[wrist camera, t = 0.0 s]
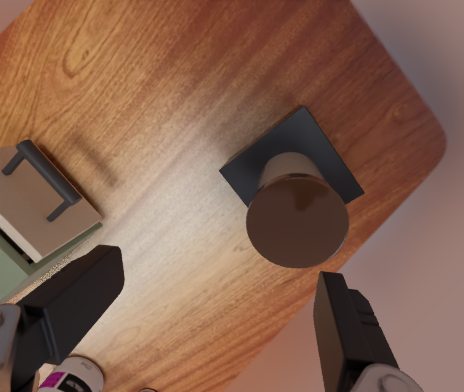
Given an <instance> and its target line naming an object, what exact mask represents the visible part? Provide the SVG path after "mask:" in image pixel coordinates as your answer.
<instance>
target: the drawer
mask: <svg viewBox="0 0 464 392" xmlns="http://www.w3.org/2000/svg"><path fill="white" fill-rule="evenodd" d="M102 219H103V218H102V217H101V216H100V215H99V214H98V213H97V211H96V210H95V209H94V208H93V207H92V206H91V205H90V204H89V203H88V202H87V201H86V199H85V198H84V197H83V196H82V195H81V194H80V193H79V192H78V191H77V190H76V188H75V187H74V186H73V185H72V184H71V183H70V182H69V181H68V180H67V179H66V177H65V176H64V175H63V174H62V173H61V172H60V171H59V170H58V169H57V168H56V166H55V165H54V164H53V163H52V162H51V161H50V160H49V159H48V158H47V157H46V156H45V154H44V153H43V152H42V151H41V150H40V149H39V148H38V147H37V146H36V145H35V143H33V142H32V141H31V140H24V141H22V142H20V143H19V144H17V145H15V146H9V147H2V148H0V235H1V236H2V237H3V238H4V239H5V240H6V241H7V242H8V243H9V244H10V245H11V246H12V247H13V248H14V249H15V250H16V251H17V252H18V253H19V254H20V255H21V256H22V257H23V258H24V259H25V260H26V261H27V262H28V263H29V264H31V263H33V262H35V263H37V262H39V261H40V260H42V259H43V258H45V257H47V256H48V255H50V254H51V253H53V252H54V251H56V250H57V249H59V248H60V247H62V246H63V245H65V244H66V243H68V242H69V241H71V240H72V239H74V238H75V237H77V236H78V235H80V234H82V233H83V232H85V231H86V230H88V229H89V228H91V227H92V226H94V225H95V224H97V223H98V222H99V221H100V220H102Z"/></svg>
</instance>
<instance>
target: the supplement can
mask: <svg viewBox="0 0 464 392" xmlns="http://www.w3.org/2000/svg"><path fill="white" fill-rule="evenodd" d="M103 386H104V383H103V375H102V373H101V371H100V369H99V368H98V367H97V366H96V365H95V364H94V363H93V362H91V361H90V360H88V359H85V358H83V357H71V358H66V359H65V360H64V361H63V362H62V364H61V365H60V366H58V365H57V367H56V368H55V369H54V370H53V371H52V372H51V374H50V375H49V376H48V377H47V378H46V380H45V381H44V382H43V383H42V384H41V385H40V387H39V388H38V392H101V390H102V388H103Z"/></svg>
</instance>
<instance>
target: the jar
mask: <svg viewBox="0 0 464 392" xmlns="http://www.w3.org/2000/svg"><path fill="white" fill-rule="evenodd" d="M246 228H247V233H248V236H249V239H250V241H251V243H252V245H253V246H254V247H255V249H256V250H257V251H258V252H259V253H260V254H261V255H262V256H263V257H264V258H266V259H267V260H269V261H270V262H272V263H274V264H277V265H280V266H283V267H287V268H308V267H312V266H316V265H318V264H321V263H323V262H325V261H326V260H328V259H330V258H331V257H332V256H333V255H335V254H336V253H337V251H338V250H339V249H340V248H341V246H342V245H343V243H344V241H345V239H346V237H347V234H348V229H349V215H348V211H347V208H346V206H345V203H344V202H343V200H342V198H341V197H340V195H339V194H338V193H337V191H336V190H335V189H334V188H333V187H332V186H331V185H330V184H329V183H327V182H326V180H325V179H324V177H323V175H322V174H321V172H320V171H319V169H318V167H317V166H316V164H315V163H314V162H313V161H312V160H311V159H310V158H308V157H307V156H305V155H303V154H300V153H296V152H286V153H281V154H279V155H276V156H275V157H273V158H272V159H270V160H269V161H268V162H267V163H266V164H265V166H264V167H263V169H262V172H261V175H260V179H259V183H258V187H257V191H256V193H255V195H254V196H253V198H252V200H251V202H250V205H249V208H248V212H247V217H246Z"/></svg>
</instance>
